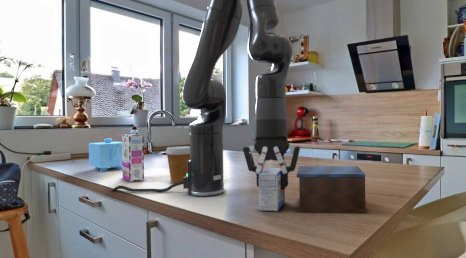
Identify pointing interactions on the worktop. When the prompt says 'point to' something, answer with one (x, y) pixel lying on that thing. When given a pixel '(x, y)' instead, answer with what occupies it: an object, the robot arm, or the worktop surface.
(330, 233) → the worktop surface
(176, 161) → the disposable coffee cup
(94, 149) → the teapot
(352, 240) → the worktop surface
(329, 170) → the chest lid
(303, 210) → the chest
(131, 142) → the candy bar box
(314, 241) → the worktop surface
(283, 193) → the medicine box
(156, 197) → the worktop surface
